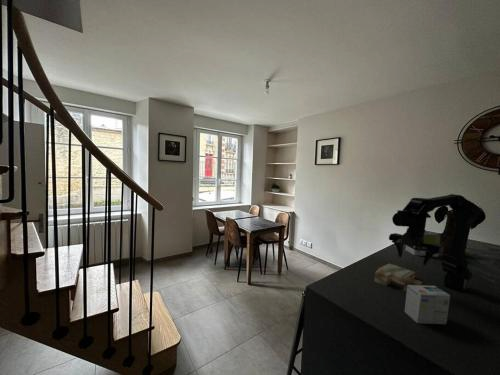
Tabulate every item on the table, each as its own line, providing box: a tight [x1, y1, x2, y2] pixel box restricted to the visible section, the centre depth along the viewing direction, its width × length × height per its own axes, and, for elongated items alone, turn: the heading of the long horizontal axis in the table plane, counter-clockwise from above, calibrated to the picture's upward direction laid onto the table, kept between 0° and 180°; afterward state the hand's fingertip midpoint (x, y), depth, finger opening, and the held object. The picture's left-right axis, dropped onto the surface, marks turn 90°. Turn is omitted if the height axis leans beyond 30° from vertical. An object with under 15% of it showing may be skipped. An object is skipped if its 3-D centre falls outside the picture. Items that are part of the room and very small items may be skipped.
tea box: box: [405, 230, 440, 258], centre depth 147 cm, size 15×10×15 cm, turn 84°
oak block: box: [374, 269, 392, 287], centre depth 104 cm, size 5×5×5 cm
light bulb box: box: [404, 284, 451, 325], centre depth 78 cm, size 11×7×11 cm, turn 92°
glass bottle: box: [437, 211, 456, 254], centre depth 153 cm, size 18×18×28 cm
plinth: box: [376, 262, 416, 286], centre depth 111 cm, size 12×14×3 cm
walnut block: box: [403, 277, 423, 293], centre depth 97 cm, size 5×5×5 cm
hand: (411, 261), depth 97 cm, fingers open, 9 cm apart
